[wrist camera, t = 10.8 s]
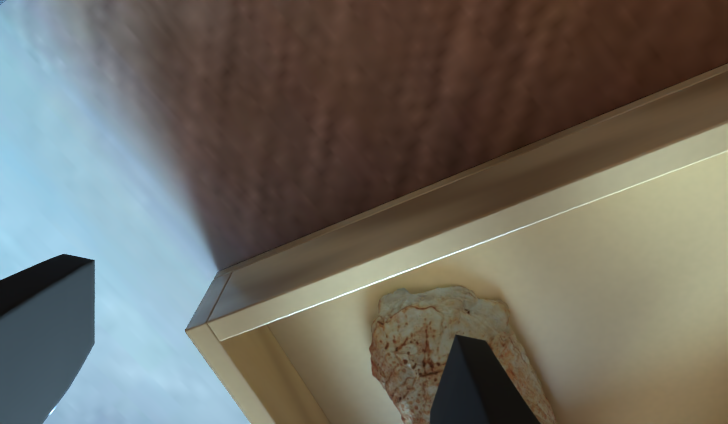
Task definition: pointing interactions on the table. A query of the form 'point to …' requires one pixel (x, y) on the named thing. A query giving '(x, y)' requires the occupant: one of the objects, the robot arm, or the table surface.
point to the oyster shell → (443, 347)
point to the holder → (513, 275)
